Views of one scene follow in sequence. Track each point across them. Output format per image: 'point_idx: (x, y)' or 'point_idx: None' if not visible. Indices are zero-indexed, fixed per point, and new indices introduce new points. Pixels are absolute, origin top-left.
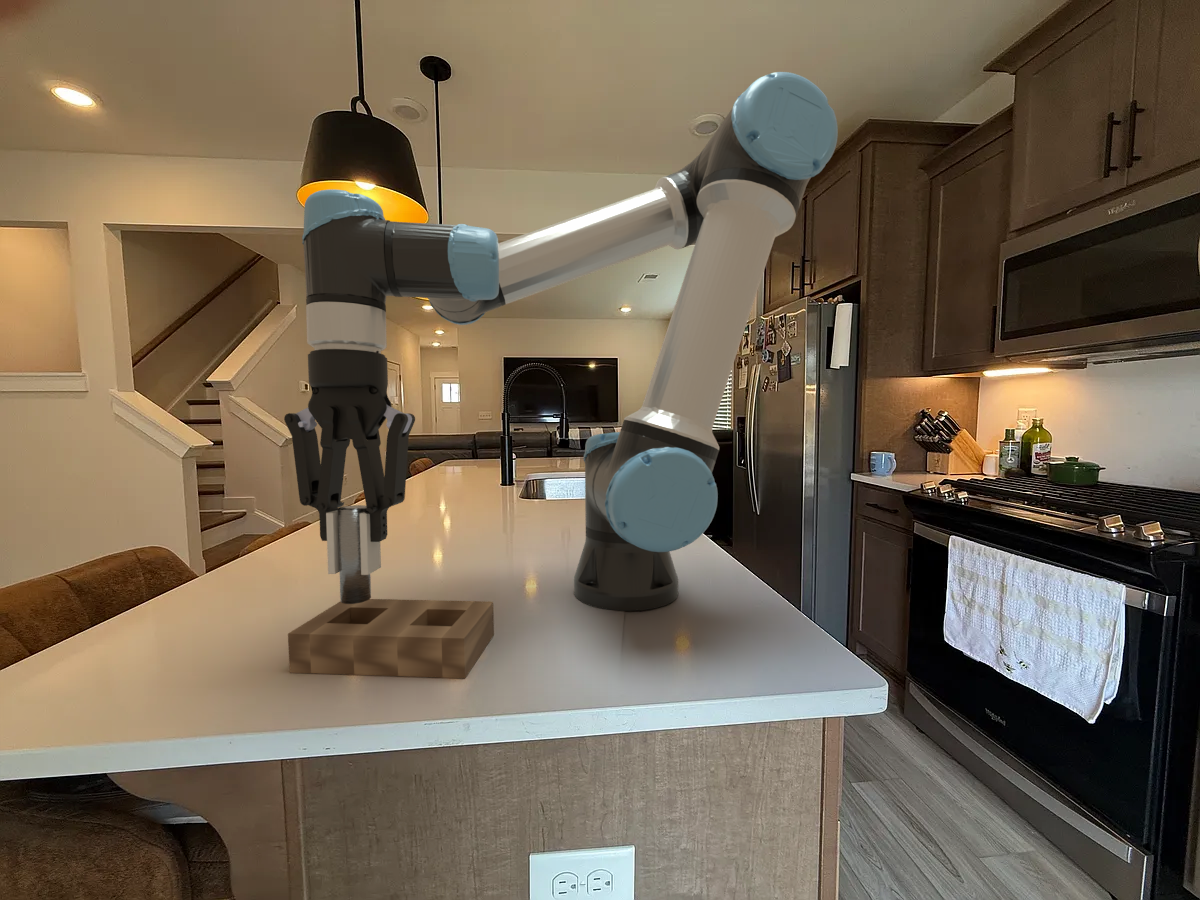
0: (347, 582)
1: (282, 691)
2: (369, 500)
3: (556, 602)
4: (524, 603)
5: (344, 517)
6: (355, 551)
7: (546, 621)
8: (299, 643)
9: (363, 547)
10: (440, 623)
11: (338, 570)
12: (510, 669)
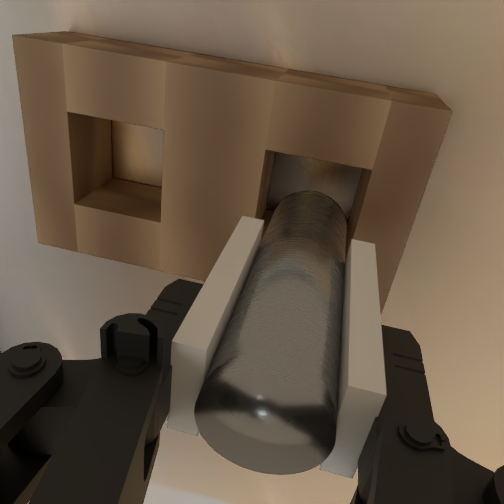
0: (310, 214)
1: (424, 13)
2: (128, 391)
3: (22, 334)
4: (75, 342)
5: (284, 348)
6: (268, 262)
7: (12, 261)
8: (417, 101)
9: (232, 260)
10: (145, 204)
11: (346, 258)
12: (5, 71)
